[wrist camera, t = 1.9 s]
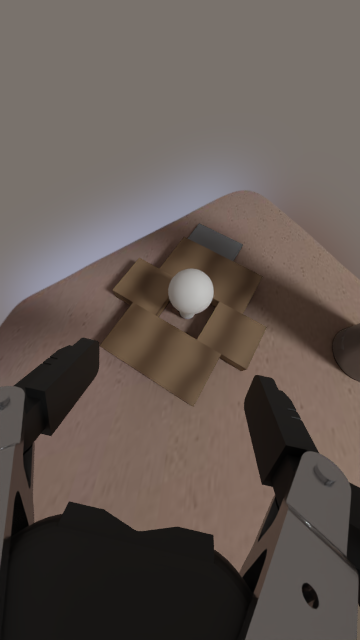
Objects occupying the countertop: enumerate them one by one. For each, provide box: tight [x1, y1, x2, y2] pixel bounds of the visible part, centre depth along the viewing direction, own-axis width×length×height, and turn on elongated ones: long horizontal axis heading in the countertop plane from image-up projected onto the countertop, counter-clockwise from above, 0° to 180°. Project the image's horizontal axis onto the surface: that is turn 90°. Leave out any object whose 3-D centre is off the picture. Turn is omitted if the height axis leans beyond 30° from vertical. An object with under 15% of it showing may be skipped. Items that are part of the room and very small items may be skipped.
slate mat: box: [188, 223, 243, 261], centre depth 39 cm, size 10×9×1 cm
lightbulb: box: [168, 269, 214, 319], centre depth 29 cm, size 6×6×11 cm
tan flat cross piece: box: [100, 237, 267, 406], centre depth 33 cm, size 24×24×2 cm
